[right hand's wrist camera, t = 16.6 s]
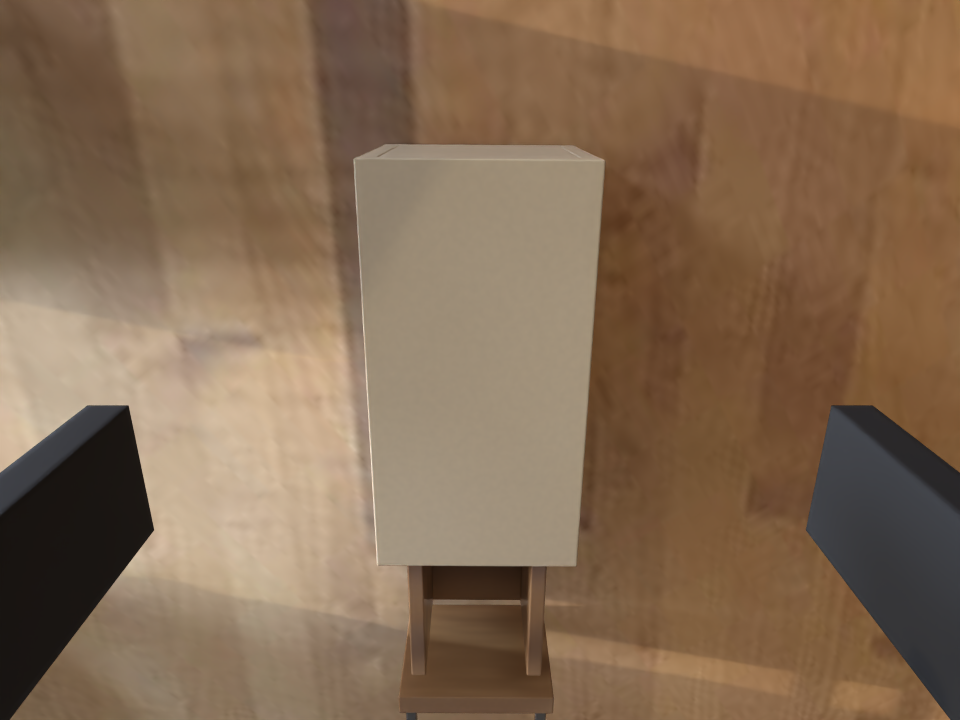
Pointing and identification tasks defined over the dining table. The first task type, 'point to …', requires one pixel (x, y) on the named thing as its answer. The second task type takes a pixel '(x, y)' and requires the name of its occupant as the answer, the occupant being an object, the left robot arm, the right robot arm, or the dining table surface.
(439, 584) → the drawer
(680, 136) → the dining table surface
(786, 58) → the dining table surface
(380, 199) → the cabinet
